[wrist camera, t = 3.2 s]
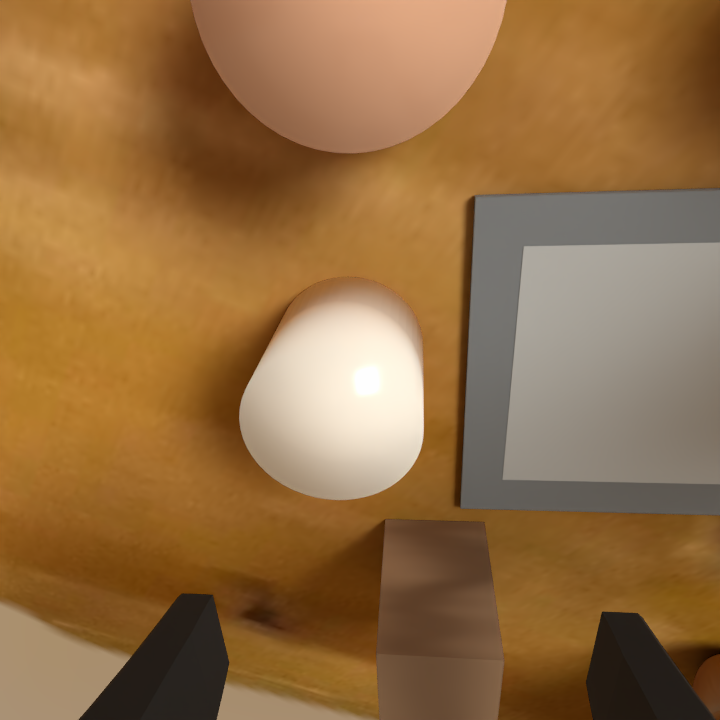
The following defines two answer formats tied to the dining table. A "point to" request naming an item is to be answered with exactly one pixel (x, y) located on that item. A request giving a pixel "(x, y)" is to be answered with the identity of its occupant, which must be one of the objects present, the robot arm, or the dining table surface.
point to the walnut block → (438, 623)
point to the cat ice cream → (709, 684)
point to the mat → (594, 353)
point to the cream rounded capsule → (338, 392)
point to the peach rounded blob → (348, 63)
